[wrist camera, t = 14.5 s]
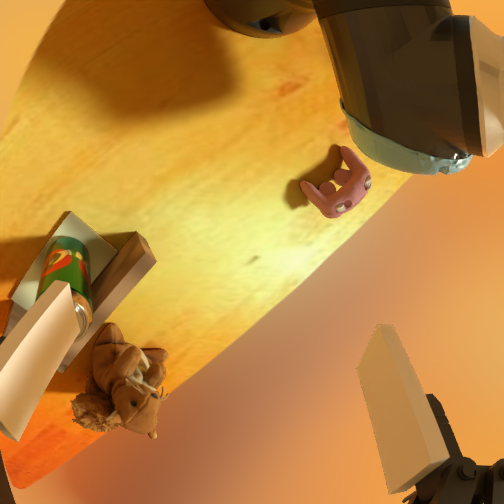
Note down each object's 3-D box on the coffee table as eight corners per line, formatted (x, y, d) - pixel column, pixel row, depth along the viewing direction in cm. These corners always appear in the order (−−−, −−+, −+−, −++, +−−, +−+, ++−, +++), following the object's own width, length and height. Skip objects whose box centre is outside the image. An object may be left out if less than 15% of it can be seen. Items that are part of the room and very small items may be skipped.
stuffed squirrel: (171, 347, 41) (206, 418, 31) (111, 401, 40) (130, 472, 29) (119, 310, 35) (140, 388, 25) (58, 373, 34) (65, 452, 23)
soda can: (40, 267, 27) (25, 335, 18) (57, 227, 27) (42, 282, 18) (79, 284, 30) (81, 355, 21) (97, 246, 30) (103, 308, 21)
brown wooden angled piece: (88, 189, 28) (87, 203, 23) (145, 239, 33) (156, 261, 28) (6, 304, 27) (-3, 335, 22) (62, 340, 32) (62, 373, 27)
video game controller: (299, 200, 43) (335, 230, 40) (295, 182, 39) (336, 213, 36) (343, 161, 44) (379, 186, 41) (343, 140, 40) (383, 167, 37)
